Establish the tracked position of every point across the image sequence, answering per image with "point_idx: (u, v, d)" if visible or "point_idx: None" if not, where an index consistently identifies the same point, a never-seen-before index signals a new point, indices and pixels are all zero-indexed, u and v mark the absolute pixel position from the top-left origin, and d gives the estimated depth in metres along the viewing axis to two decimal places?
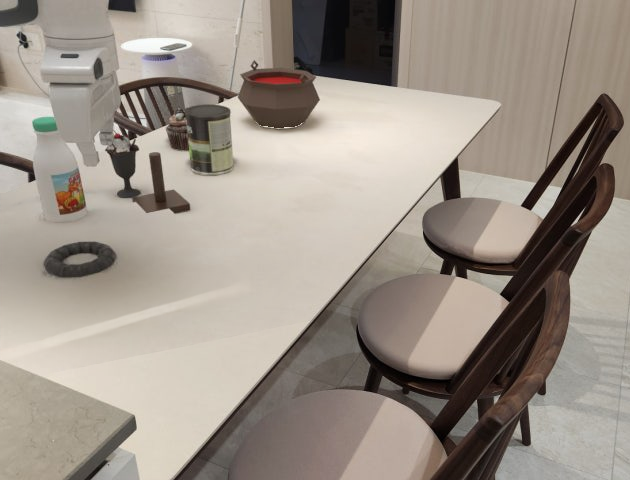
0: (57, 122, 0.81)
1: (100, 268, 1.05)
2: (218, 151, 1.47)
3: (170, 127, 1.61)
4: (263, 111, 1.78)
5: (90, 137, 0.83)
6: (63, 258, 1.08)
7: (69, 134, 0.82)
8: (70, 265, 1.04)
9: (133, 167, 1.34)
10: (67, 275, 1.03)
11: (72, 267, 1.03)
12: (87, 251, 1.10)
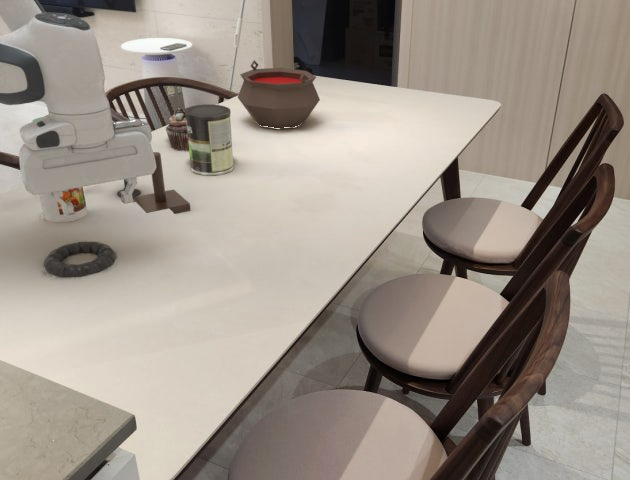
0: None
1: (100, 268, 1.05)
2: (218, 151, 1.47)
3: (170, 127, 1.61)
4: (263, 111, 1.78)
5: (32, 191, 0.97)
6: (63, 258, 1.08)
7: (23, 184, 0.98)
8: (70, 265, 1.04)
9: None
10: (67, 275, 1.03)
11: (72, 267, 1.03)
12: (87, 251, 1.10)
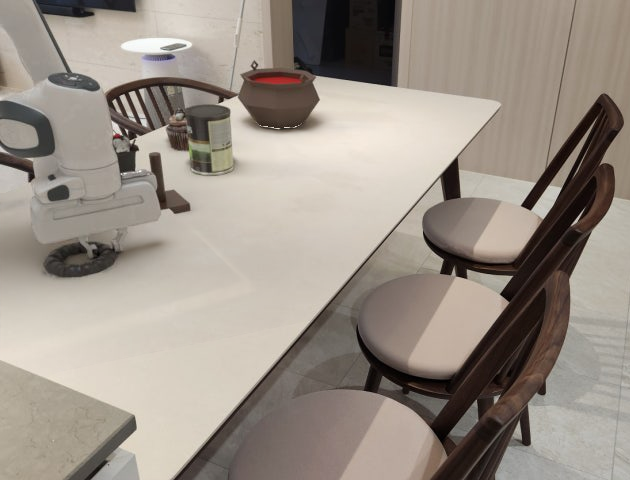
0: None
1: (100, 268, 1.05)
2: (218, 151, 1.47)
3: (170, 127, 1.61)
4: (263, 111, 1.78)
5: (43, 241, 1.01)
6: (63, 258, 1.08)
7: (34, 233, 1.02)
8: (70, 265, 1.04)
9: (133, 167, 1.34)
10: (67, 275, 1.03)
11: (72, 267, 1.03)
12: None
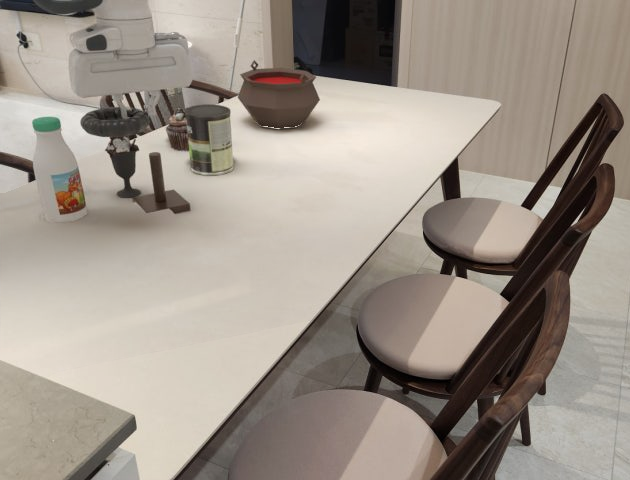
0: None
1: (135, 125, 1.09)
2: (218, 151, 1.47)
3: (170, 127, 1.61)
4: (263, 111, 1.78)
5: (81, 94, 1.05)
6: (99, 119, 1.11)
7: (72, 87, 1.06)
8: (106, 120, 1.07)
9: (133, 167, 1.34)
10: (104, 129, 1.07)
11: (108, 122, 1.07)
12: (121, 115, 1.14)
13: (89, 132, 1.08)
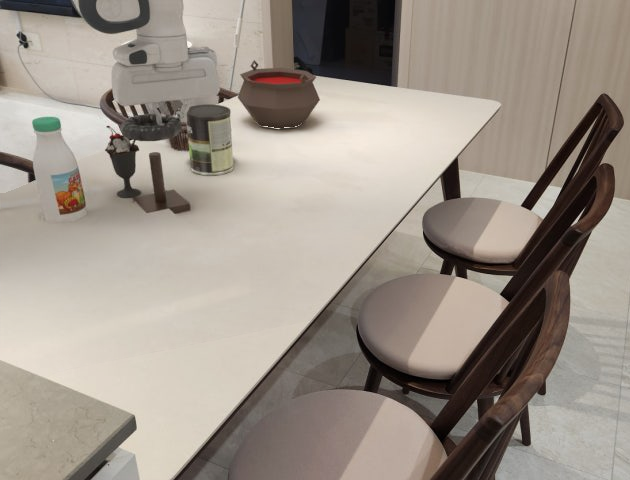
0: (112, 87, 1.18)
1: (170, 131, 1.21)
2: (218, 151, 1.47)
3: None
4: (263, 111, 1.78)
5: (122, 102, 1.17)
6: (136, 125, 1.24)
7: (114, 97, 1.18)
8: (145, 126, 1.19)
9: (133, 167, 1.34)
10: (142, 134, 1.19)
11: (147, 127, 1.19)
12: (156, 121, 1.26)
13: (129, 137, 1.20)
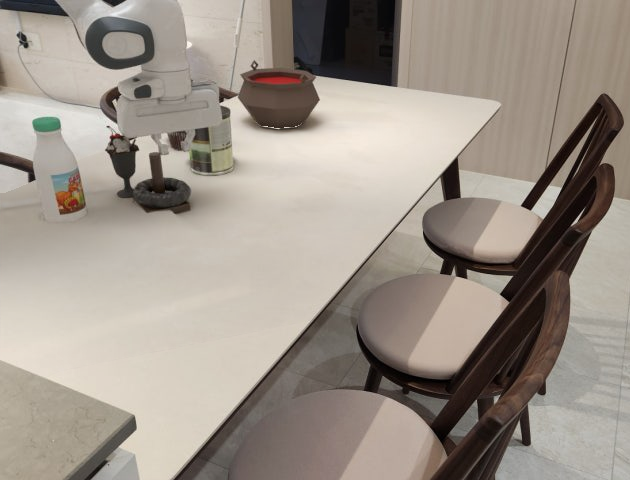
0: (117, 119, 1.21)
1: (180, 198, 1.28)
2: (218, 151, 1.47)
3: None
4: (263, 111, 1.78)
5: (127, 135, 1.20)
6: (148, 189, 1.31)
7: (119, 129, 1.21)
8: (157, 194, 1.27)
9: (133, 167, 1.34)
10: (154, 201, 1.26)
11: (158, 195, 1.26)
12: (166, 185, 1.33)
13: (141, 202, 1.27)
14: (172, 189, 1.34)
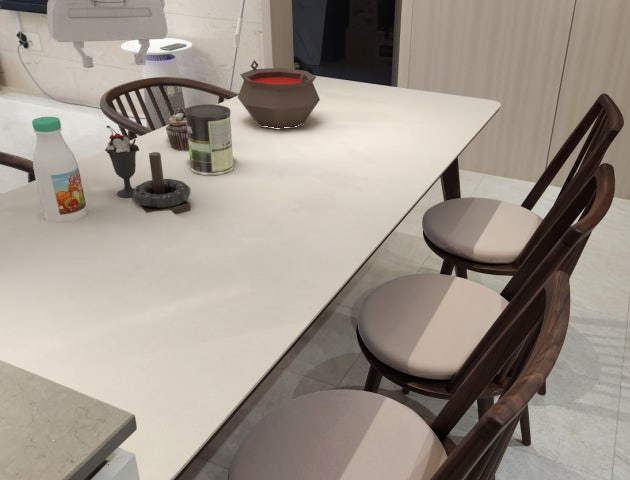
0: None
1: (180, 198, 1.28)
2: (218, 151, 1.47)
3: (170, 127, 1.61)
4: (263, 111, 1.78)
5: (58, 38, 1.09)
6: (148, 191, 1.31)
7: (50, 32, 1.10)
8: (156, 194, 1.27)
9: (133, 167, 1.34)
10: (154, 202, 1.26)
11: (158, 196, 1.27)
12: (166, 186, 1.34)
13: (141, 204, 1.27)
14: (172, 190, 1.34)
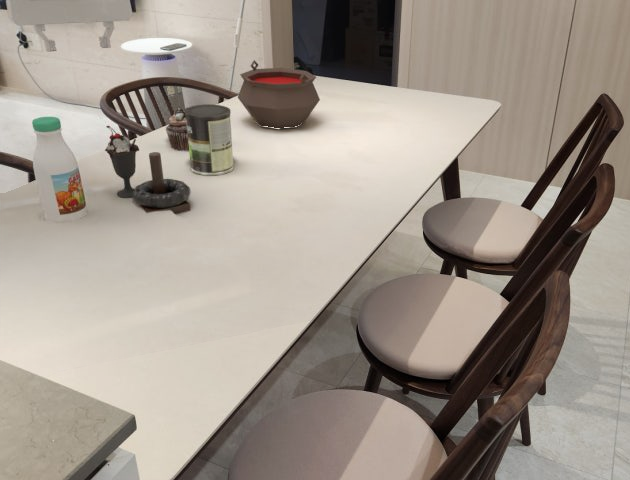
0: None
1: (180, 198, 1.28)
2: (218, 151, 1.47)
3: (170, 127, 1.61)
4: (263, 111, 1.78)
5: (17, 21, 1.07)
6: (148, 191, 1.31)
7: (9, 15, 1.08)
8: (156, 194, 1.27)
9: (133, 167, 1.34)
10: (154, 202, 1.26)
11: (158, 196, 1.27)
12: (166, 186, 1.34)
13: (141, 204, 1.27)
14: (172, 190, 1.34)
